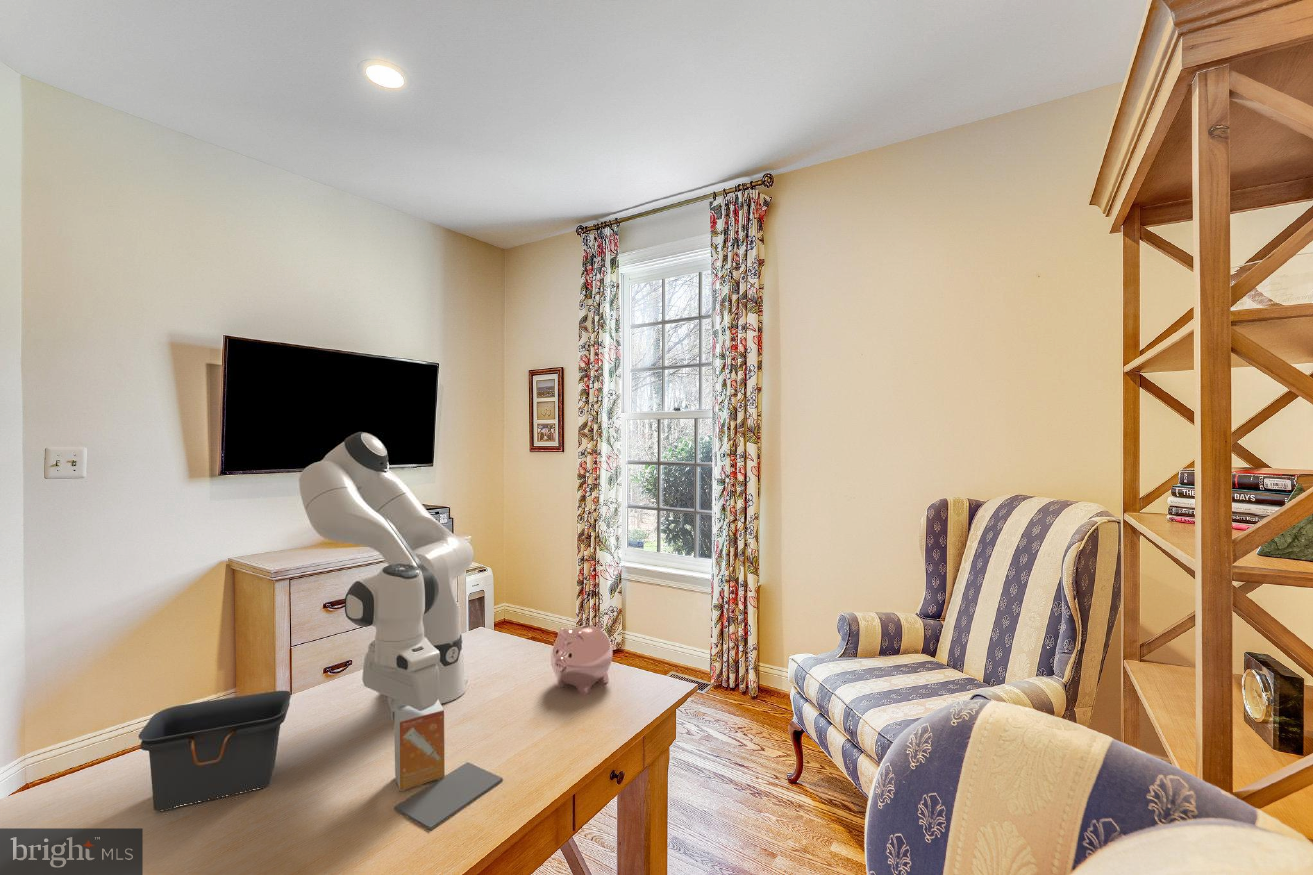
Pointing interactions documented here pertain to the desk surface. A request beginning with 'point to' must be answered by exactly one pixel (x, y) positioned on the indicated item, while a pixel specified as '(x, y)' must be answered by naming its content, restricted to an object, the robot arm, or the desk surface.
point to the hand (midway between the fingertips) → (397, 719)
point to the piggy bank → (581, 657)
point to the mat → (448, 795)
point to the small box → (419, 745)
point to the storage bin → (213, 747)
